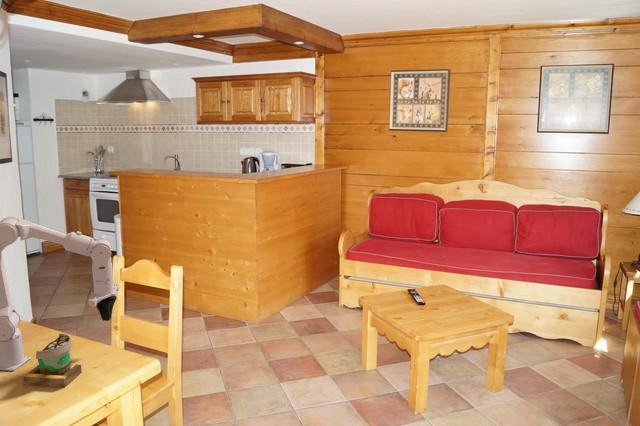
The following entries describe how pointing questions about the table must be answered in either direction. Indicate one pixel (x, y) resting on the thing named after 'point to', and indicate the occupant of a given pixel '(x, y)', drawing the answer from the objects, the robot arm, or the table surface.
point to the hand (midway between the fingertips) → (106, 319)
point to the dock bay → (51, 377)
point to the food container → (55, 356)
